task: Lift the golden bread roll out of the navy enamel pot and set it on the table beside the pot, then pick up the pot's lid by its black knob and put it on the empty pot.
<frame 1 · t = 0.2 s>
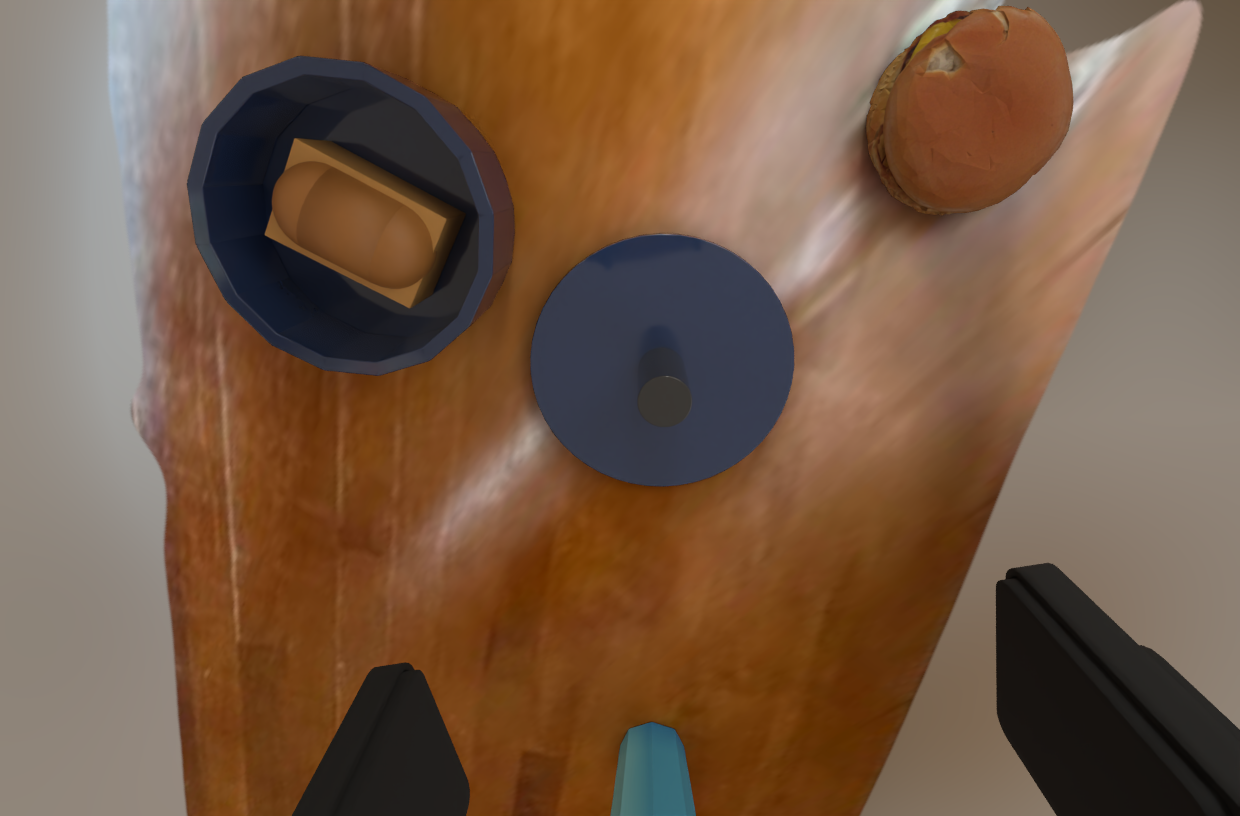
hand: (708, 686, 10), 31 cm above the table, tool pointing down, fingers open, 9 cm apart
bread: (383, 221, 37), resting on pot
lid: (661, 367, 40), point 1 cm above the table
cup: (641, 743, 53), on the table
burger: (944, 120, 35), on the table
pot: (386, 220, 38), on the table
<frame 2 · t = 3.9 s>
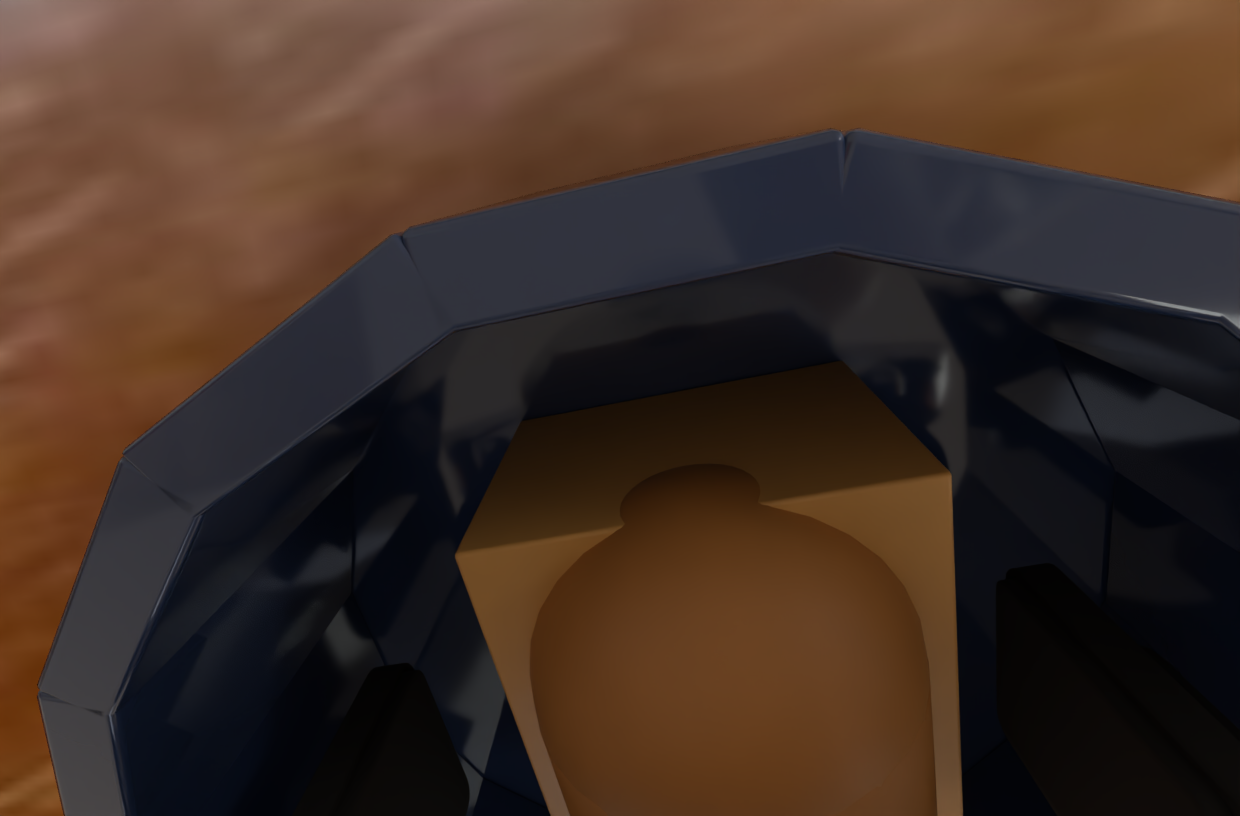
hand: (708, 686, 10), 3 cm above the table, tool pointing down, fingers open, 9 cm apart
bread: (717, 594, 12), resting on pot
pot: (714, 578, 12), on the table
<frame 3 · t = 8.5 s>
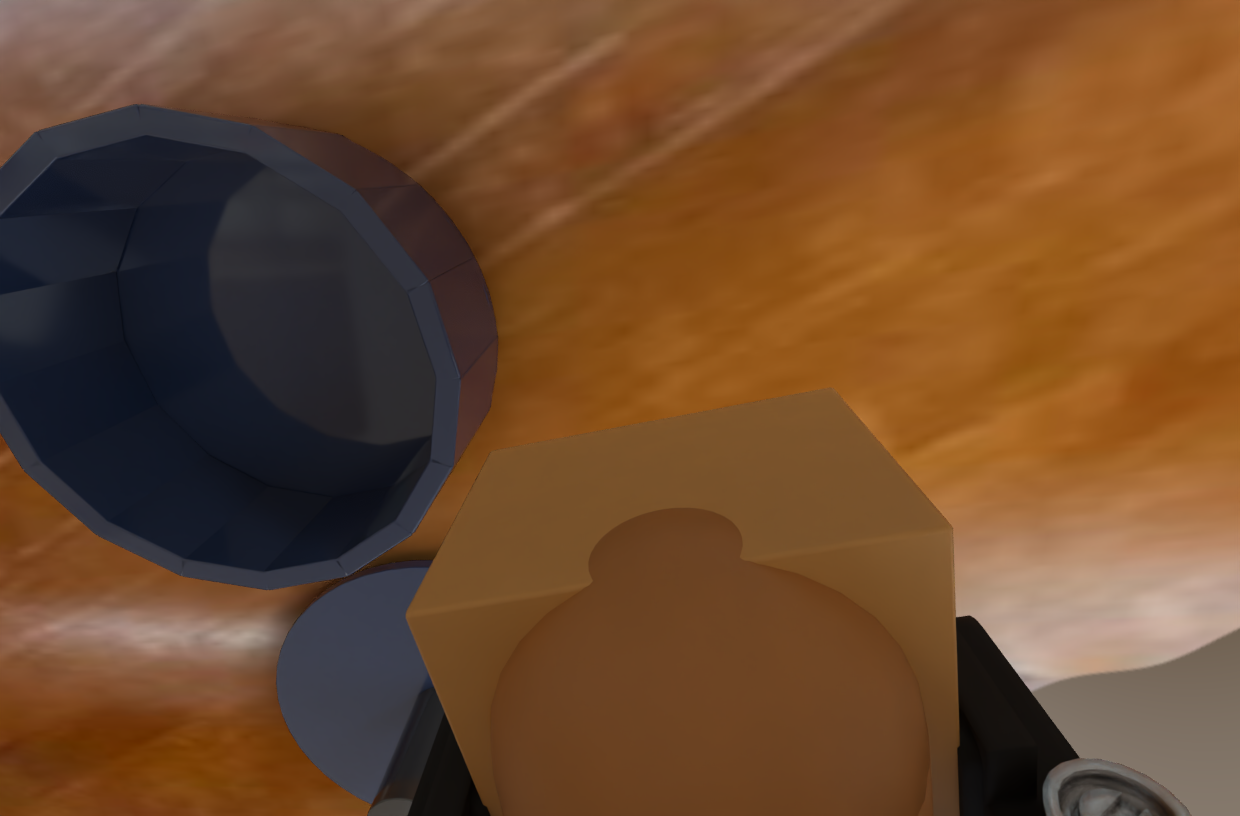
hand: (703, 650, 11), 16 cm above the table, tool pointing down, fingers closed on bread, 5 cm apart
bread: (701, 631, 11), point 15 cm above the table, touching gripper
lid: (448, 699, 31), point 1 cm above the table
pot: (306, 334, 25), on the table
when the fingers open (0 cm above the table, at t = 12.3 s): bread stays where it is, on the table.
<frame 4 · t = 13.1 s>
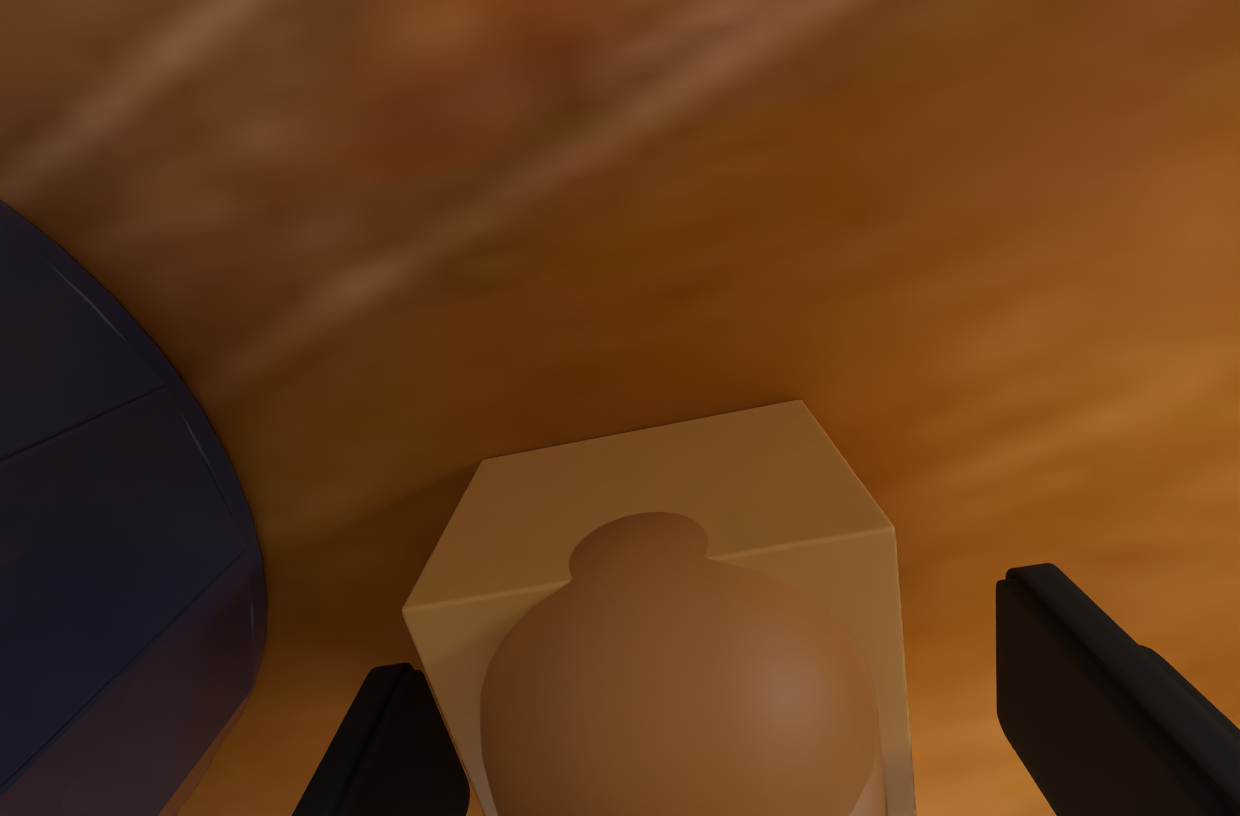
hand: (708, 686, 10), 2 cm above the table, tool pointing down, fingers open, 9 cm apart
bread: (682, 630, 12), on the table
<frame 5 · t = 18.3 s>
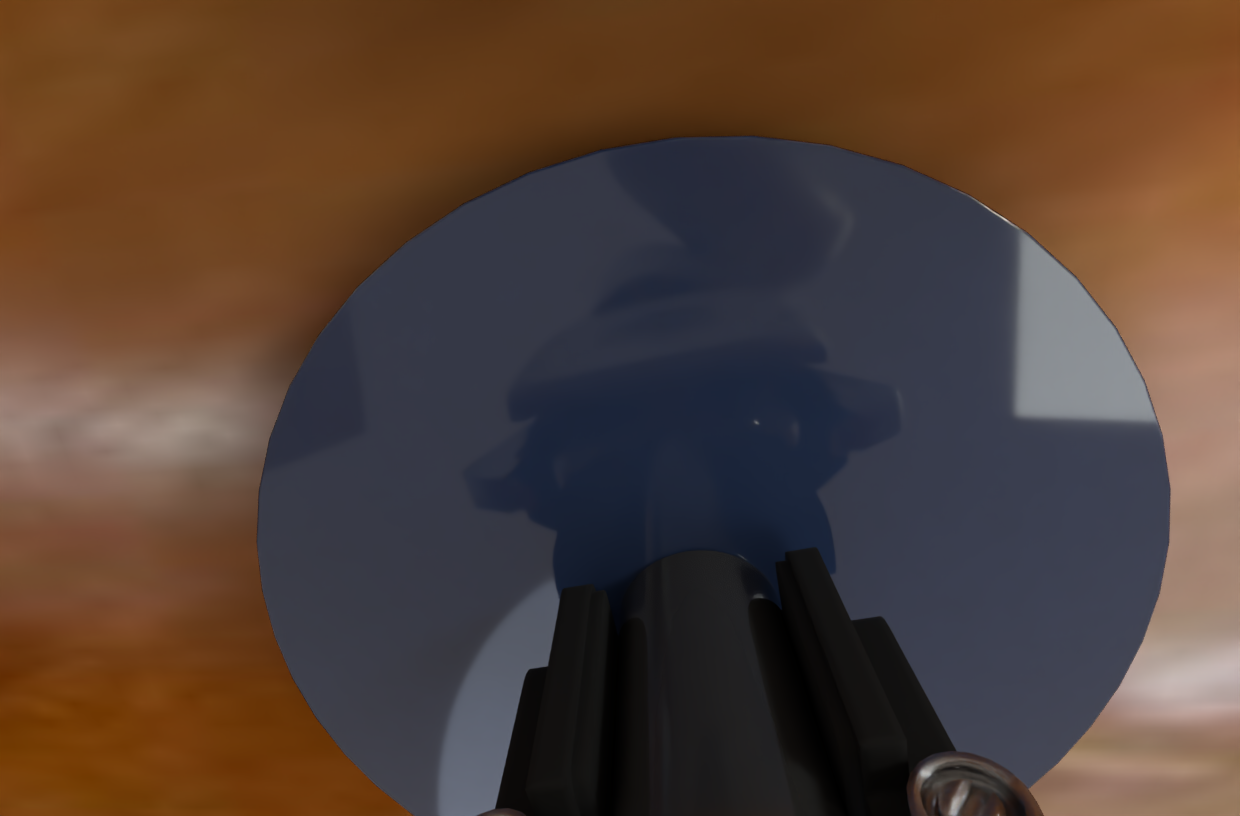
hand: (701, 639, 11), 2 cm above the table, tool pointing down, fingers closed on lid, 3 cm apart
lid: (696, 595, 12), point 1 cm above the table, touching gripper
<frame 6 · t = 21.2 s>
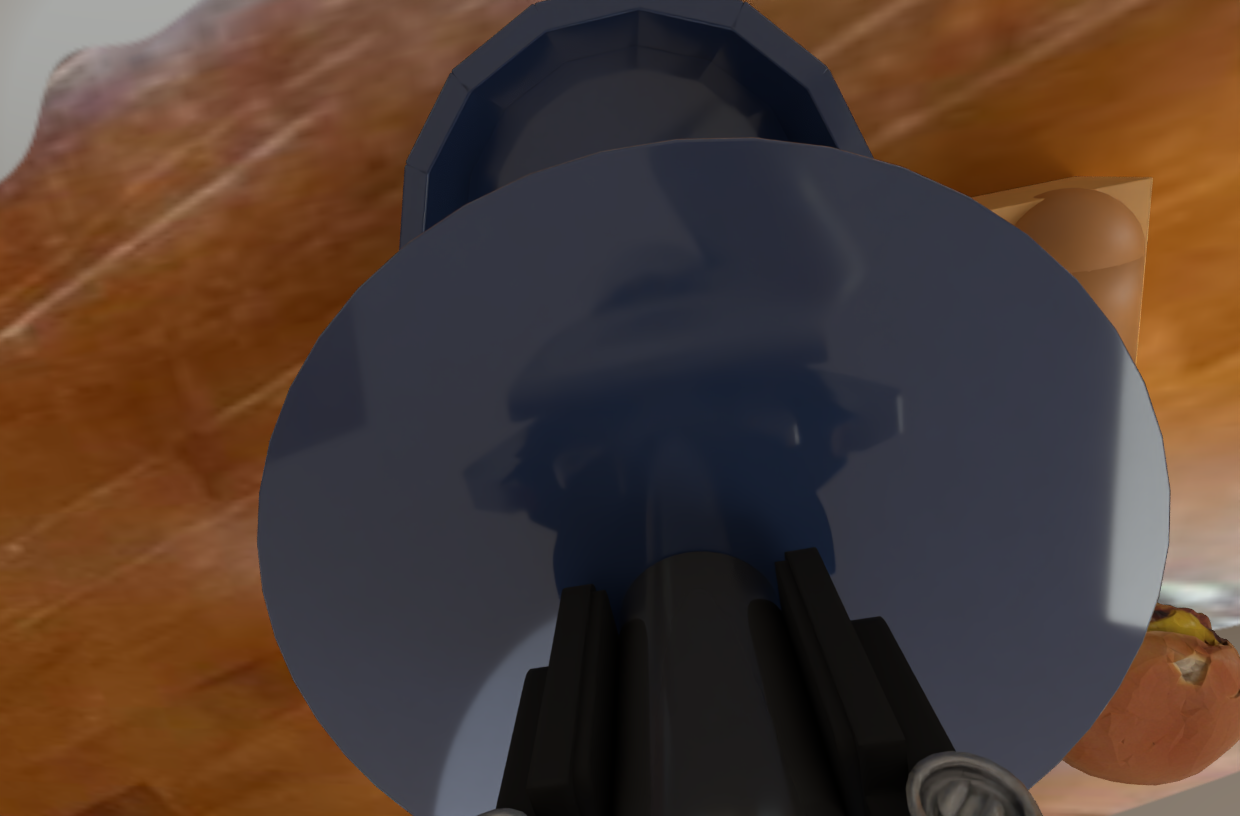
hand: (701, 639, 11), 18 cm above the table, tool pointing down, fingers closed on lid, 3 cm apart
bread: (1003, 294, 27), on the table
lid: (696, 597, 12), point 17 cm above the table, touching gripper
burger: (1096, 657, 33), on the table
pot: (636, 242, 26), on the table
when the fingers open (7 cm above the table, at t = 24.5 s): lid stays where it is, resting on pot.
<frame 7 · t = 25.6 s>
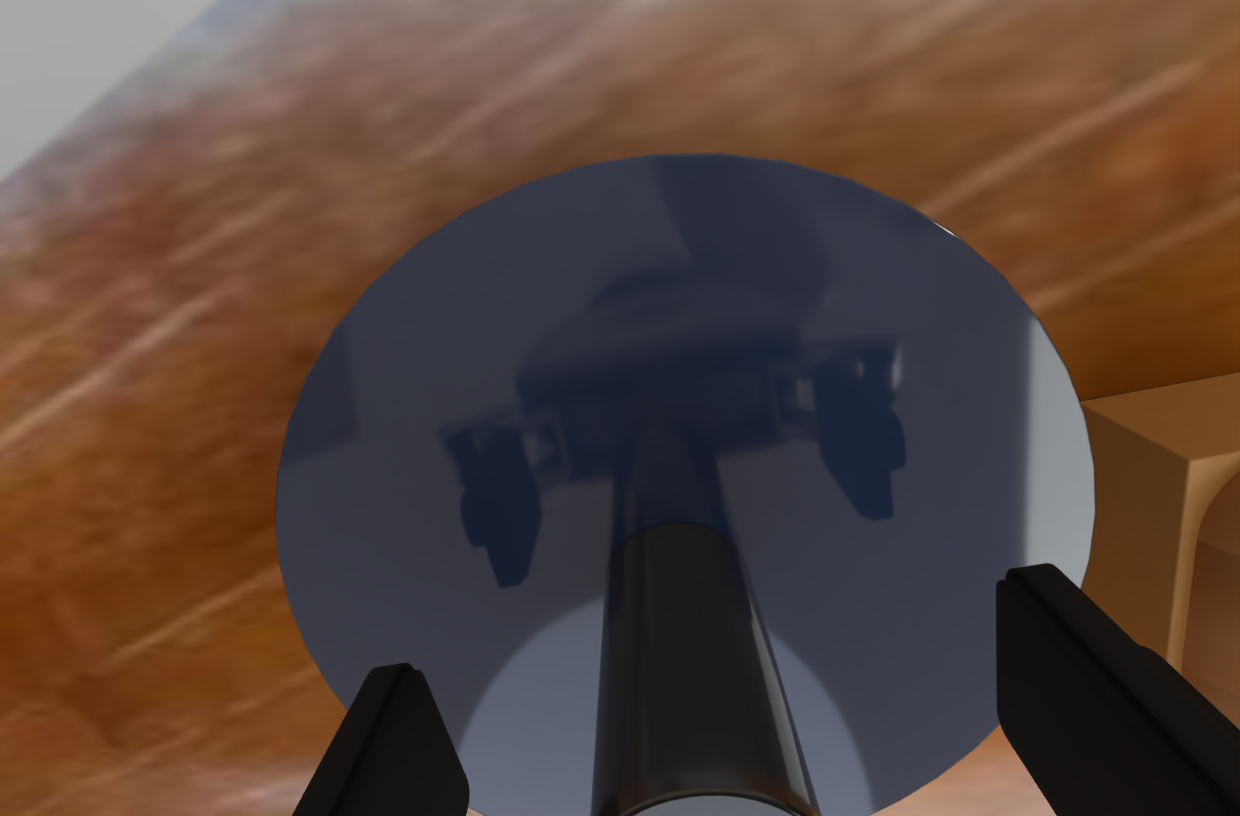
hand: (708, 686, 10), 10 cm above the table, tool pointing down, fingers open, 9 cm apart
bread: (1162, 509, 20), on the table
lid: (675, 567, 14), point 6 cm above the table, touching pot
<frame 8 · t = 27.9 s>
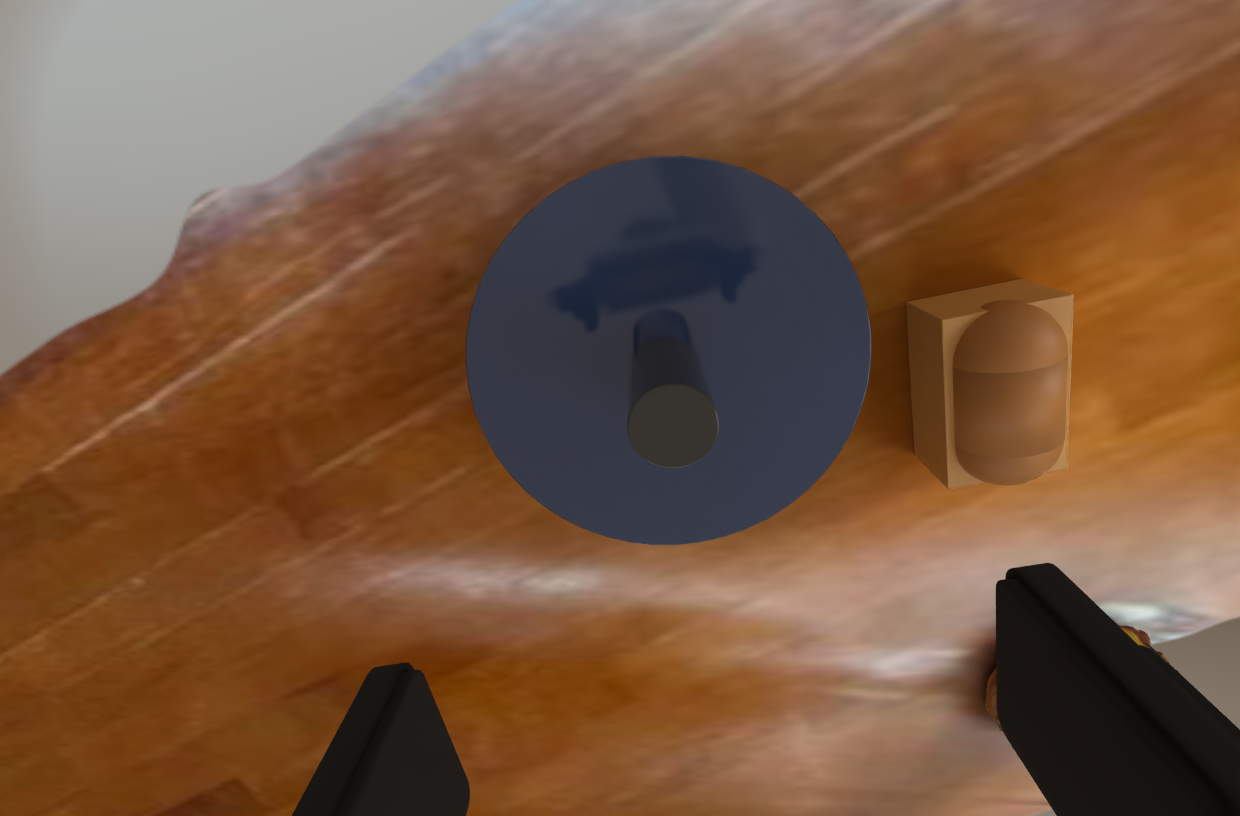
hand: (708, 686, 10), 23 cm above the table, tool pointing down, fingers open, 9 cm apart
bread: (964, 371, 32), on the table
lid: (665, 368, 26), point 6 cm above the table, touching pot
burger: (1056, 666, 39), on the table
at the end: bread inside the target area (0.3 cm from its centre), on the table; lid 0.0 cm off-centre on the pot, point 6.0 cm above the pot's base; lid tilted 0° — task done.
